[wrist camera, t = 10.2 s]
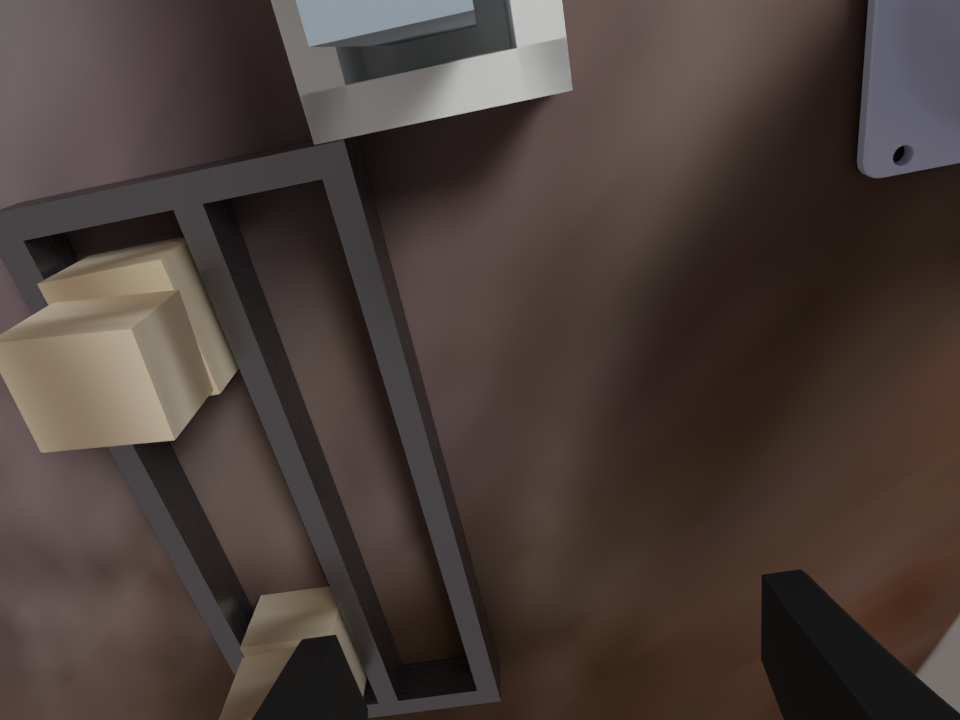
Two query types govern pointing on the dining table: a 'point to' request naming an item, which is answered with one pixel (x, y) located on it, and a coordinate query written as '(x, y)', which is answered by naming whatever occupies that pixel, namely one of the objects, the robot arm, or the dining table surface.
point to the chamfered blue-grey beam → (381, 20)
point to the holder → (428, 69)
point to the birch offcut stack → (118, 350)
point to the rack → (282, 407)
